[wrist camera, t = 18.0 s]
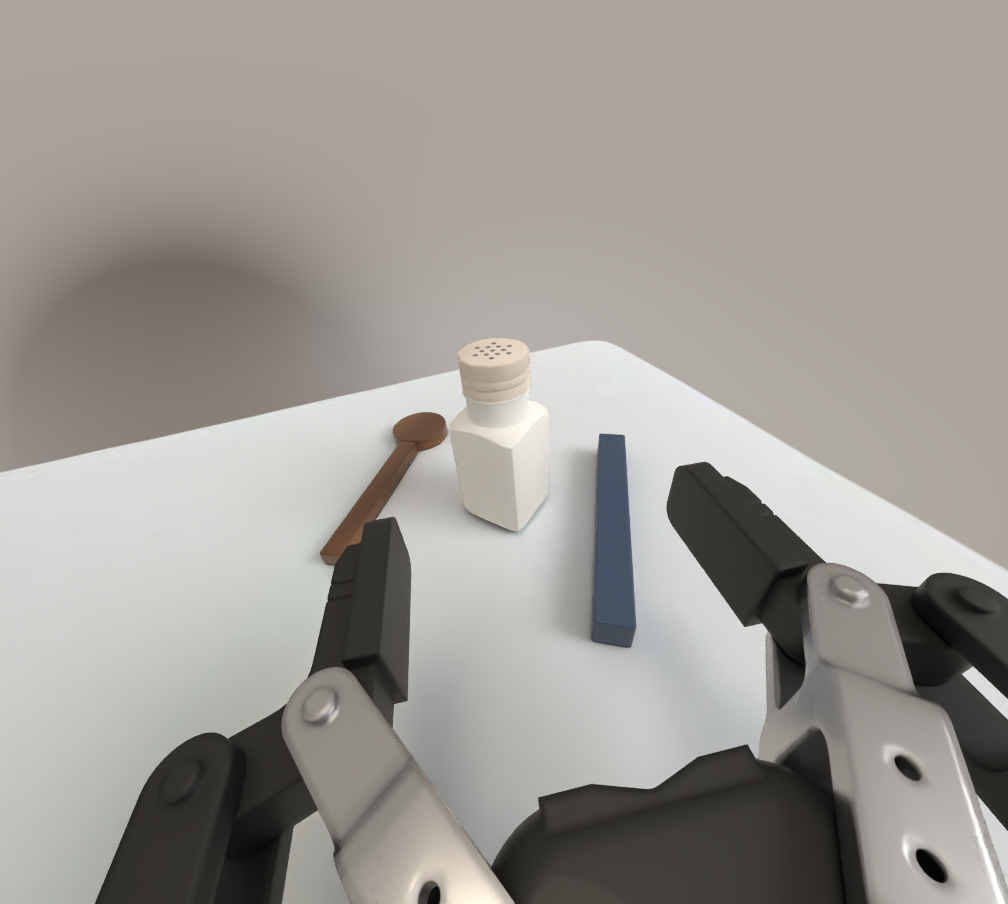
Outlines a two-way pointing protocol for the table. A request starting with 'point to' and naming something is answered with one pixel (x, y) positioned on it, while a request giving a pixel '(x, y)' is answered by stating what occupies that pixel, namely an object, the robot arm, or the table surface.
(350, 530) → the wooden spoon
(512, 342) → the salt shaker
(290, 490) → the table surface
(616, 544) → the blue stick
